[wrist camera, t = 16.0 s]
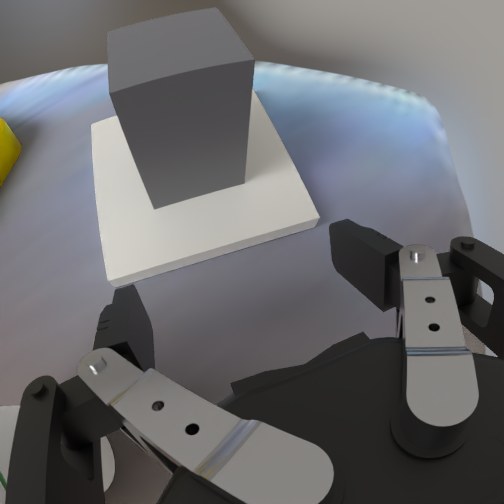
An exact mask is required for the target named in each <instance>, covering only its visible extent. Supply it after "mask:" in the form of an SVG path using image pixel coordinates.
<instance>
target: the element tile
mask: <svg viewBox="0 0 504 504" xmlns="http://www.w3.org/2000/svg"><path fill="white" fill-rule="evenodd" d="M20 152H21V143H20V142H19V140H18V139H17V137H16V136H15V135H14V133H13V132H12V130H11V129H10V127H9V126H8V124H7V123H6V122H5V120H4V119H3V118H0V187H1V185H2V183H3V182H4V180H5V178H6V176H7V175H8V173H9V172H10V170H11V168H12V167H13V165H14V163H15V162H16V160H17V159H18V157H19V155H20Z"/></svg>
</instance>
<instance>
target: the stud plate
mask: <svg viewBox="0 0 504 504" xmlns="http://www.w3.org/2000/svg"><path fill="white" fill-rule="evenodd" d="M91 133H92V156H93V172H94V184H95V195H96V205H97V213H98V222H99V229H100V236H101V243H102V250H103V256H104V262H105V268H106V273H107V279H108V282H110V283H111V284H112V285H113V286H115V287H119V286H122V285H126V284H129V283H132V282H135V281H139V280H142V279H145V278H149V277H152V276H155V275H158V274H162V273H165V272H168V271H171V270H175V269H178V268H181V267H185V266H188V265H191V264H194V263H198V262H201V261H204V260H208V259H211V258H214V257H217V256H221V255H224V254H227V253H231V252H234V251H237V250H241V249H244V248H247V247H251V246H254V245H257V244H261V243H264V242H267V241H270V240H274V239H277V238H280V237H284V236H287V235H290V234H294V233H297V232H301V231H304V230H307V229H311V228H314V227H315V226H316V224H317V222H318V220H319V218H320V216H319V214H318V212H317V210H316V208H315V206H314V204H313V202H312V200H311V198H310V196H309V194H308V191H307V189H306V187H305V185H304V183H303V181H302V179H301V177H300V175H299V173H298V171H297V169H296V167H295V165H294V163H293V162H292V160H291V158H290V156H289V154H288V152H287V150H286V148H285V146H284V144H283V142H282V140H281V139H280V137H279V135H278V133H277V131H276V129H275V127H274V126H273V124H272V122H271V120H270V118H269V116H268V115H267V113H266V111H265V109H264V107H263V106H262V104H261V102H260V100H259V98H258V97H257V95H256V93H255V91H254V90H253V88H252V98H251V110H250V122H249V134H248V146H247V159H246V171H245V184H241V185H237V186H234V187H230V188H226V189H223V190H219V191H215V192H212V193H208V194H205V195H201V196H198V197H195V198H191V199H188V200H184V201H181V202H178V203H174V204H171V205H168V206H165V207H161V208H158V209H155V210H154V208H153V206H152V203H151V201H150V199H149V196H148V194H147V191H146V189H145V187H144V184H143V182H142V179H141V177H140V174H139V172H138V169H137V167H136V164H135V162H134V159H133V157H132V154H131V151H130V149H129V146H128V144H127V141H126V138H125V136H124V133H123V130H122V128H121V125H120V122H119V119H118V117H117V115H116V116H113V117H110V118H107V119H104V120H101V121H99V122H96V123H93V124H91Z"/></svg>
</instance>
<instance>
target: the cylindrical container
mask: <svg viewBox="0 0 504 504" xmlns="http://www.w3.org/2000/svg"><path fill="white" fill-rule="evenodd" d="M19 409H20V405H19V406H0V504H5V498H6V486H7V477H8V469H9V462H10V455H11V449H12V443H13V437H14V432H15V427H16V422H17V418H18V413H19ZM101 459H102V475H103V487H104V492H105V491H106V490H107V489H108V488H109V486H110V484H111V483H112V481H113V477H114V473H115V461H114V455H113V451H112V448H111V446H110V443H109V441H108V439H107V437H106V436H104V437H102V438H101Z"/></svg>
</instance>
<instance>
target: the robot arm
mask: <svg viewBox="0 0 504 504" xmlns="http://www.w3.org/2000/svg"><path fill="white" fill-rule="evenodd" d="M329 234H330V243H331V254H332V261H333V265H334V267H335V269H336V271H337V272H338V273H339V274H340V275H342V276H343V277H344V278H345V279H346V280H347V281H349V282H350V283H351V284H352V285H353V286H354V287H355V288H357V289H358V290H359V291H360V292H361V293H362V294H363V295H365V296H366V297H367V298H368V299H369V300H370V301H371V302H373V303H374V304H375V305H376V306H377V307H378V308H379V309H380V310H382V311H383V312H384V311H387V310H389V309H391V308H393V307H396V328H395V337H385V338H376V339H371V340H370V339H369V338H368V337H367V336H366V335H365V333H364V332H361V333H359V334H357V335H355V336H352V337H350V338H348V339H346V340H343V341H341V342H339V343H336V344H334V345H332V346H331V347H330V348H328V349H327V350H325V351H324V352H322V353H321V354H319V355H318V356H316V357H315V358H313V359H312V360H310V361H309V362H307V363H306V364H303V365H299V366H294V367H288V368H283V369H277V370H271V371H265V372H262V373H259V374H256V375H254V376H251V377H248V378H245V379H242V380H239V381H236V382H233V383H231V386H232V389H233V392H234V394H232V395H230V396H228V397H227V398H226V399H224V400H223V401H221V402H220V403H219V404H218V405H217V406H216V405H214V404H212V403H210V402H208V401H207V400H205V399H203V398H201V397H199V396H198V395H196V394H194V393H192V392H191V391H189V390H187V389H186V388H184V387H182V386H180V385H179V384H177V383H175V382H174V381H172V380H171V379H169V378H167V377H166V376H164V375H162V374H161V373H159V372H158V371H156V370H155V362H154V344H153V330H152V326H151V322H150V319H149V317H148V315H147V312H146V310H145V308H144V306H143V303H142V301H141V299H140V296H139V294H138V292H137V289H136V287H135V286H134V285H133V284H132V285H129V286H126V287H123V288H119V289H116V290H115V292H114V298H113V303H112V304H110V305H107V306H106V307H105V308H104V310H103V311H102V313H101V314H100V318H99V322H98V323H99V324H98V327H97V332H96V336H95V342H94V347H93V351H91V352H90V353H88V354H87V355H86V356H84V357H83V358H82V360H81V361H80V362H79V364H78V367H77V373H78V375H77V376H75V377H73V378H71V379H69V380H67V381H65V382H63V383H61V384H58V383H57V382H56V380H55V379H54V378H53V377H51V376H41V377H39V378H37V379H35V380H34V381H32V382H31V383H30V384H29V385H28V386H27V387H26V389H25V391H24V393H23V396H22V400H21V404H20V409H19V413H18V418H17V422H16V427H15V432H14V437H13V443H12V449H11V455H10V462H9V469H8V477H7V486H6V498H5V504H105V497H104V487H103V475H102V459H101V438H102V437H104V436H106V435H108V434H110V433H112V432H114V431H116V430H118V429H120V430H121V431H122V432H124V433H125V434H126V435H127V436H128V437H129V438H130V439H131V440H132V441H133V442H134V443H135V444H137V445H138V446H139V447H140V448H141V449H142V450H143V451H145V452H146V453H147V454H148V455H149V456H150V457H152V458H153V459H154V460H155V461H156V462H157V463H158V464H159V465H160V466H162V467H163V468H164V469H165V470H166V471H167V472H168V473H169V474H171V475H172V478H171V479H170V481H169V483H168V485H167V486H166V488H165V490H164V491H163V493H162V495H161V497H160V498H159V500H158V502H157V503H156V504H504V254H502V253H500V252H499V251H497V250H495V249H493V248H492V247H490V246H488V245H486V244H485V243H483V242H481V241H479V240H477V239H475V238H471V237H457V238H454V239H453V240H452V241H451V245H450V252H446V253H440V254H436V253H435V251H434V250H433V249H431V248H430V247H427V246H424V245H409V246H405V247H403V246H402V245H400V244H398V243H397V242H395V241H393V240H391V239H389V238H387V237H386V236H384V235H382V234H380V233H379V232H377V231H375V230H373V229H371V228H367V227H362V226H360V225H358V224H356V223H354V222H353V221H351V220H349V219H345V220H341V221H338V222H335V223H331V224H330V226H329ZM479 279H480V280H482V281H483V282H485V283H486V284H487V285H489V286H490V287H491V288H492V290H493V293H494V301H493V305H491V304H490V303H488V302H487V301H486V300H484V299H483V298H482V297H480V296H479V295H478V294H476V292H477V287H478V282H479ZM461 324H462V325H463V326H465V327H466V328H467V329H468V330H469V331H470V332H471V333H473V334H474V335H475V336H476V337H477V338H478V339H479V340H480V341H482V342H483V343H484V344H485V345H486V346H487V347H488V348H489V349H490V350H492V351H493V352H494V353H495V354H496V355H497V356H498V357H494V356H488V355H483V354H477V353H472V352H471V351H470V350H468V349H467V348H466V345H465V340H464V335H463V330H462V326H461Z"/></svg>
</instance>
